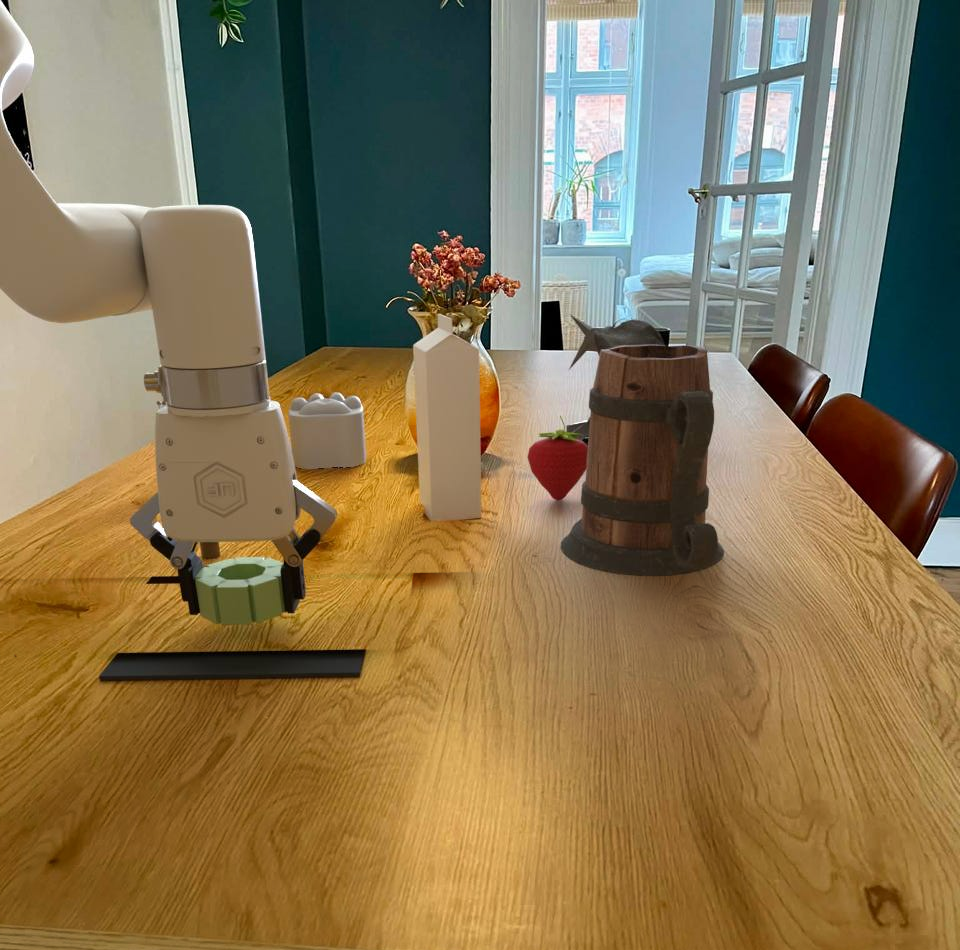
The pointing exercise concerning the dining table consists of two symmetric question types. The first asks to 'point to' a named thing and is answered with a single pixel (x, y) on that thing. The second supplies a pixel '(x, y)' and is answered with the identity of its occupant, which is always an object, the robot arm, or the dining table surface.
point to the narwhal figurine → (609, 338)
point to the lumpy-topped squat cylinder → (327, 432)
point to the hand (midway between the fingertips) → (246, 606)
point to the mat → (234, 665)
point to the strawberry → (558, 461)
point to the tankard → (647, 464)
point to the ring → (240, 591)
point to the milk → (448, 424)
